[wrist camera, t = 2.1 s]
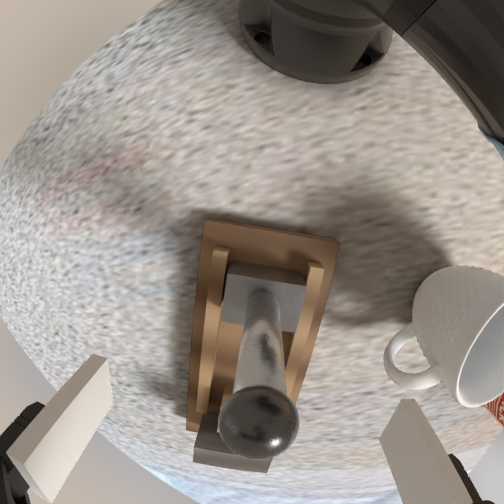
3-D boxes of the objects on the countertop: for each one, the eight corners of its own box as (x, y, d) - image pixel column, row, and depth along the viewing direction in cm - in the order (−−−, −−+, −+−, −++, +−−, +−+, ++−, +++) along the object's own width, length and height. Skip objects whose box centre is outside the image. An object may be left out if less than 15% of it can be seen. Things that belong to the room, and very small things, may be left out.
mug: (380, 372, 30) (420, 450, 18) (350, 299, 28) (399, 374, 16) (476, 311, 28) (540, 359, 15) (460, 233, 26) (543, 263, 14)
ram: (233, 259, 26) (173, 400, 8) (300, 271, 26) (355, 421, 8) (227, 301, 27) (174, 464, 9) (291, 312, 27) (320, 481, 9)
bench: (208, 217, 27) (186, 230, 19) (335, 239, 27) (360, 260, 19) (189, 419, 33) (175, 464, 25) (280, 433, 33) (281, 480, 25)
